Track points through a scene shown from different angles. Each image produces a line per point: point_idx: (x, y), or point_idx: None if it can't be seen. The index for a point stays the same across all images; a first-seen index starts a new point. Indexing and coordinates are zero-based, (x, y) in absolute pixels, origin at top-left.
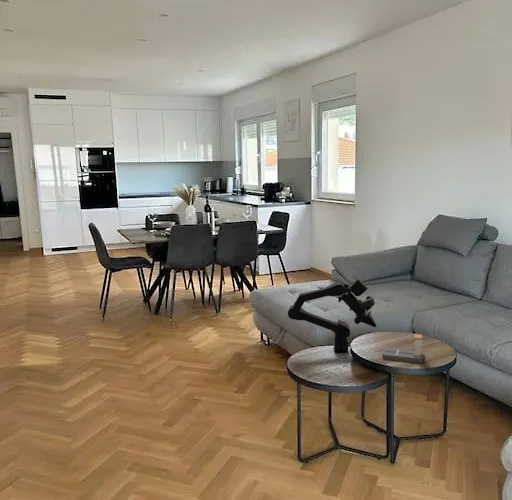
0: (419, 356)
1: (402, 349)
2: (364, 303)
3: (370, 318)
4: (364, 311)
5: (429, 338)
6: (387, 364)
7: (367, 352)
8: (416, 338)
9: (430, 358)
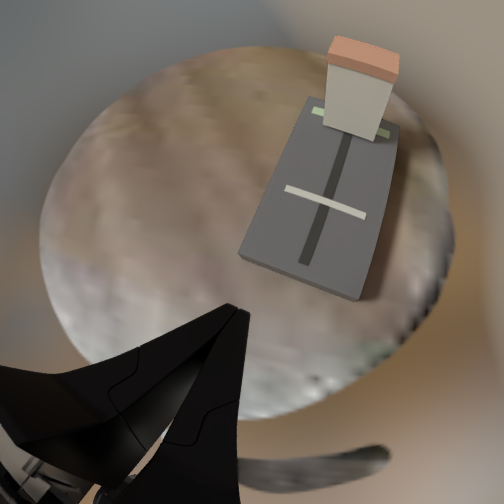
0: None
1: (282, 168)
2: None
3: (223, 457)
4: (3, 477)
5: (143, 81)
6: (419, 288)
7: None
8: (397, 70)
9: None
